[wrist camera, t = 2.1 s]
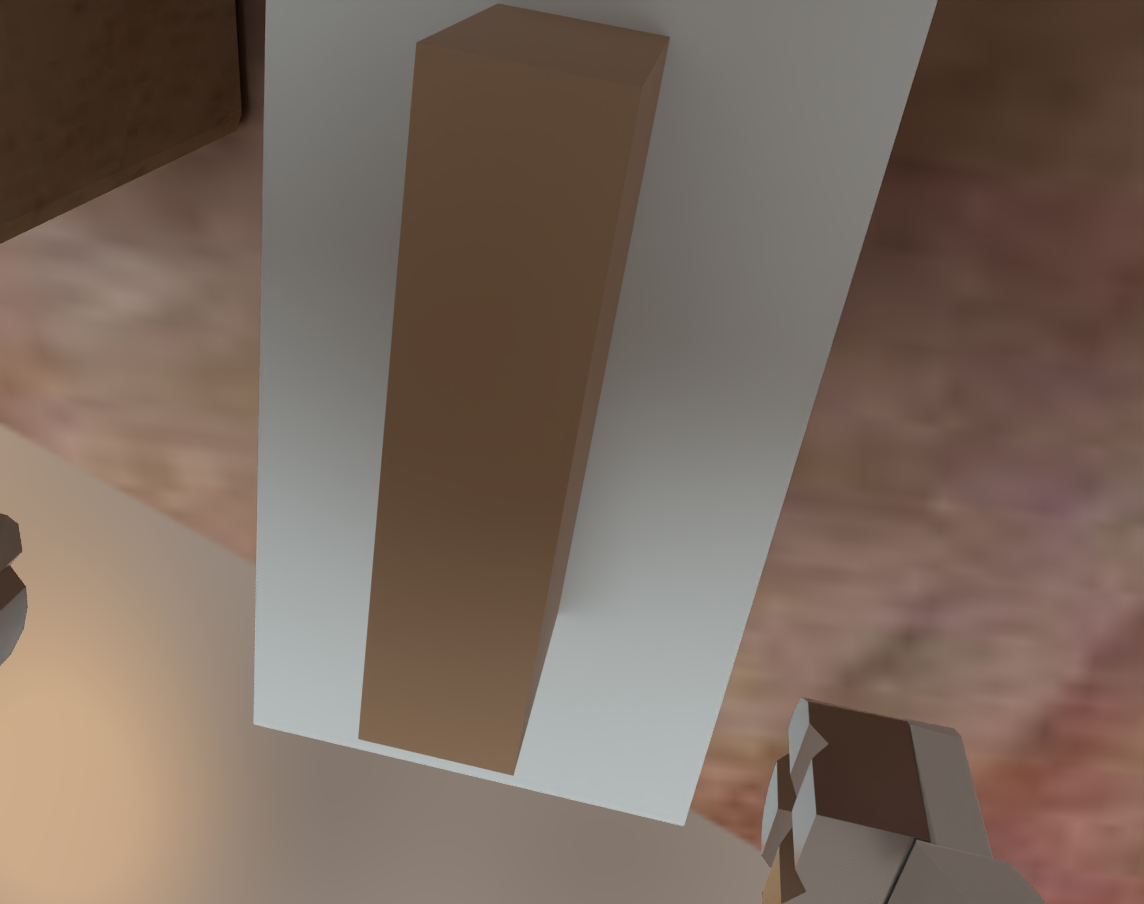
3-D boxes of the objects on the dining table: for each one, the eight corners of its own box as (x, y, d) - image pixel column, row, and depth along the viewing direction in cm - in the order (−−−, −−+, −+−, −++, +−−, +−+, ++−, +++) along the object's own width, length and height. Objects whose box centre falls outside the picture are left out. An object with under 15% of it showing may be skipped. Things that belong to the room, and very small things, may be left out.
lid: (337, -413, 14) (86, -587, 9) (999, -297, 14) (1150, -407, 9) (293, 656, 24) (157, 884, 18) (690, 747, 23) (669, 1010, 18)
